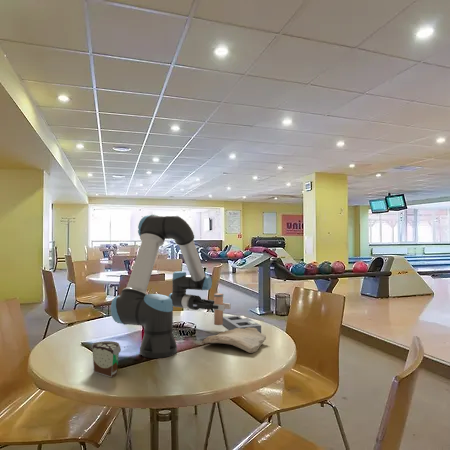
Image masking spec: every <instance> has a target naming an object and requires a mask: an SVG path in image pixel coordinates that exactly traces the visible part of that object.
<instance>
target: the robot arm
mask: <svg viewBox="0 0 450 450" xmlns="http://www.w3.org/2000/svg"><path fill="white" fill-rule="evenodd" d="M137 229H138V230H137V233H138V236H139V239H140V241H141V243H140V246H139V248H138V252H137V256H136V258H135V261H134V264H133V268H132V271H131V274H130V276H129V279H128V282H127V286H126V287H124V288H123V289H121V292H120V295H116V296H115V297H113V299H112V301H111V305H110V314H111V317H112V319H113V321H114V322H115V323H116V324H121V325H124V326H125V325H131V326H132V325H133V326H139V327H141V326H142V327H143V332H144V333H143V338H142V340H141V342H140V343H141V344H140V346H139V355H140V356H141V355H142V356H141V357H144V358H149V359H161V358H167V357H170V356H173V355H175V354H176V353H177V352H178V345H177V342H176V338H175V336H174V331H173V329H174V328H173V326H174V325H173V323H174V322H173V319H174V307H175V308H180V309H181V308H182V309H186V310H188V311H189V310H194V311H198V310H199V309H202V310H208V311H209V310H210V311H214V310H221V311H223V312H224V311H226V310H231V307H232V306H231V303H227V302H223V305H220V304H214V300H213V299H204V298H201V296H200V295H195V294H188V293H187V290H193V291H209V290H211V288H212V285H213V284H212V283H213V281H212V277H211V276H209V275H206V274H205V271H204V269H203V268H204V267H203V265H202V261H201V259H200V255H199V253H198V250H197V246H196V244H195V241H194V240H195V235H194V232H193V230H192V227H191V226H190V225H189V224H188V223H187V221H186V220H185V219H183V218H182V217H180V216H179V215H176V214H158V215H157V214H150V215H149V214H148V215H145V216H143V217H142V218H141V219H140V220H139V222H138V225H137ZM167 239H168V240H170V239H171V240H174V242H175V244H176V245H178V247H179V248H180V252H181V254H182V257H183V260H184V263H185V265H186V268H187V271H188V273H189V275H188V274H187V272H186V271H180V270H179V271H178V270H177V271H173V273H172V280H171V281H172V283H171V284H172V287H171V288H172V290H171V291H172V292H171V293H169V295H165V294H161V293H160V294H159V293H148V294H147V291H148V290H147V289H148V286H149V283H150V279H151V276H152V273H153V268H154V267H155V266H154V265H155V262H156V258H157V257H158V253H159V250H160V247H161V246H163V245H164V243H165V240H167ZM225 309H226V310H225Z"/></svg>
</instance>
